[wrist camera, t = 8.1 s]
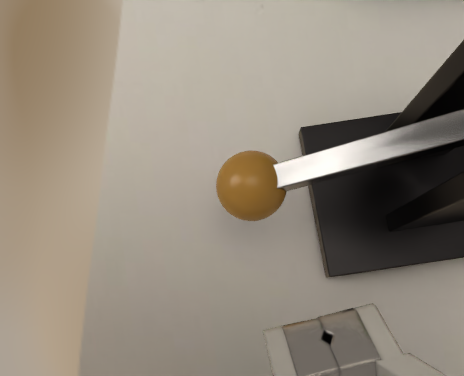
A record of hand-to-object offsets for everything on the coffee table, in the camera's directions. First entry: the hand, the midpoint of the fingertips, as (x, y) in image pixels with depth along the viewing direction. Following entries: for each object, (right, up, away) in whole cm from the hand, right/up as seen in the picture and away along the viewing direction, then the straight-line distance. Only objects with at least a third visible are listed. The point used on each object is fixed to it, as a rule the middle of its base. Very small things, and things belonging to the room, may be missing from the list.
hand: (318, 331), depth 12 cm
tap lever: (+4, +5, +7) cm, 10 cm away
